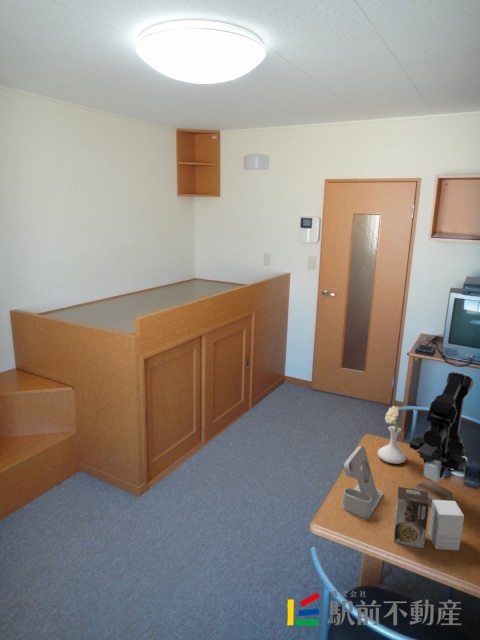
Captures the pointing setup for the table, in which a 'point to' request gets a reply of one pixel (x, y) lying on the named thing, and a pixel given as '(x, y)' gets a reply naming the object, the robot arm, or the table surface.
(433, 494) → the brown block
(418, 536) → the coffee box
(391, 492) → the table surface
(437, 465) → the grey-blue block
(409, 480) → the table surface
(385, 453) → the flower in vase
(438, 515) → the supplement box
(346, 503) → the phone holder
